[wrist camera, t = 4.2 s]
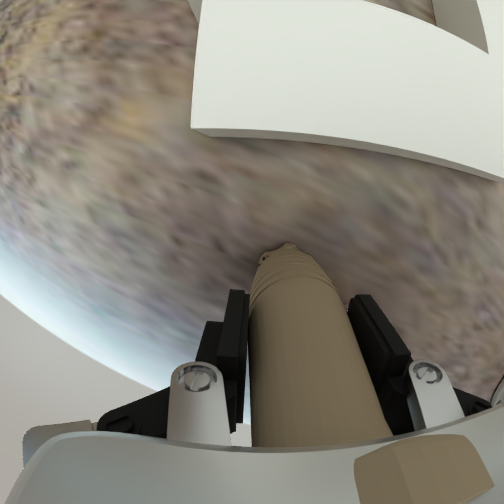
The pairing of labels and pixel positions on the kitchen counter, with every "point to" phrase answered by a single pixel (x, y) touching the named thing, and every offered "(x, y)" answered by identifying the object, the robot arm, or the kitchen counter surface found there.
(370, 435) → the handle
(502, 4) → the socket block
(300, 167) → the kitchen counter surface
